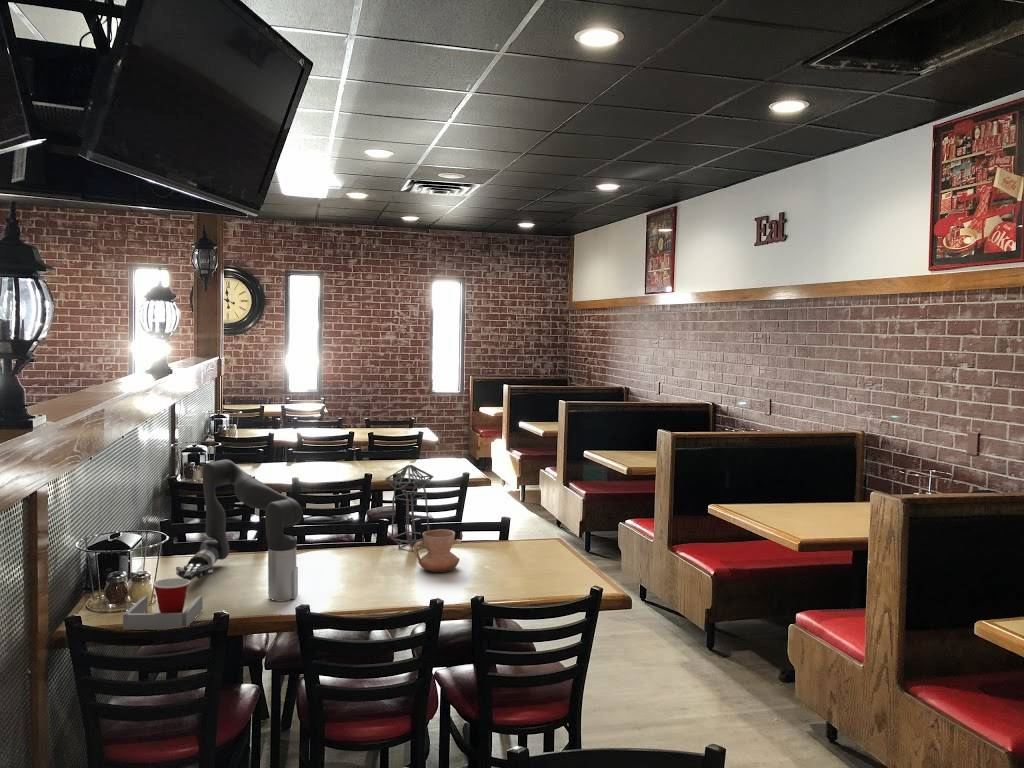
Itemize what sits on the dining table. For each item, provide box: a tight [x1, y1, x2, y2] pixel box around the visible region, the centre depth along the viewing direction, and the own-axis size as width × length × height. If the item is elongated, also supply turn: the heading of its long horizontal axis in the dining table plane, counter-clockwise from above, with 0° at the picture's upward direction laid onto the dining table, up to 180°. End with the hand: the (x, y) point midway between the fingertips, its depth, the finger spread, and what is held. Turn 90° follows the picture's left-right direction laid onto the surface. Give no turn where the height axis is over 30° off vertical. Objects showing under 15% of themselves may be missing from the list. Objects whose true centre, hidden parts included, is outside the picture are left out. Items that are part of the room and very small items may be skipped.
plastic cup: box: [152, 577, 191, 613], centre depth 249 cm, size 11×11×12 cm
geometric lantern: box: [384, 464, 435, 552], centre depth 329 cm, size 16×16×35 cm
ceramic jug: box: [413, 529, 462, 573], centre depth 302 cm, size 18×14×14 cm
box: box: [122, 595, 204, 630], centre depth 247 cm, size 18×16×5 cm
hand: (186, 578), depth 269 cm, fingers closed
